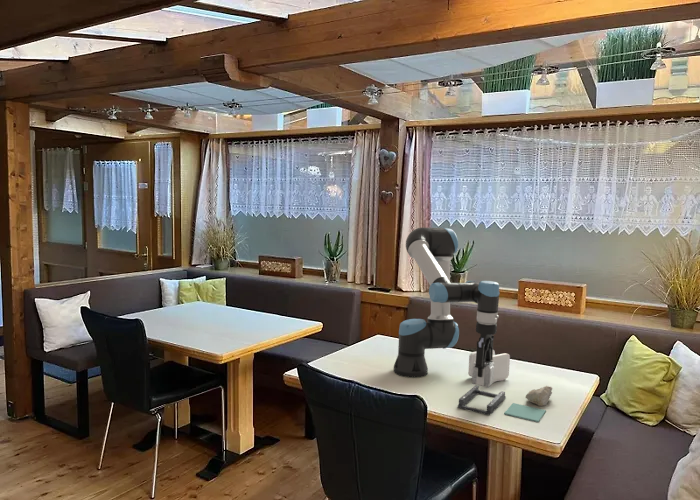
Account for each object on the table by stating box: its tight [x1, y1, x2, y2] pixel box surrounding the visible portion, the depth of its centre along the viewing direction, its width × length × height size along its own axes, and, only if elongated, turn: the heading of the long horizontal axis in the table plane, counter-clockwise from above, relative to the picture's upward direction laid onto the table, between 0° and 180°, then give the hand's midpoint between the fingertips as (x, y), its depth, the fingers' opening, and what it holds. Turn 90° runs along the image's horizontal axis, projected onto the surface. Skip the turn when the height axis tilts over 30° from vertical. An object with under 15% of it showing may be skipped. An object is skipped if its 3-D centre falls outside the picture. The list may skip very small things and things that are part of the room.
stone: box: [525, 385, 553, 407], centre depth 204 cm, size 8×12×10 cm, turn 135°
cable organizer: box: [468, 349, 511, 384], centre depth 229 cm, size 15×11×12 cm
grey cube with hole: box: [471, 361, 495, 388], centre depth 200 cm, size 7×6×8 cm
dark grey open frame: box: [457, 385, 507, 416], centre depth 201 cm, size 12×20×3 cm, turn 148°
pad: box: [503, 402, 547, 423], centre depth 192 cm, size 12×12×1 cm
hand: (482, 382), depth 200 cm, fingers closed on grey cube with hole, 6 cm apart
